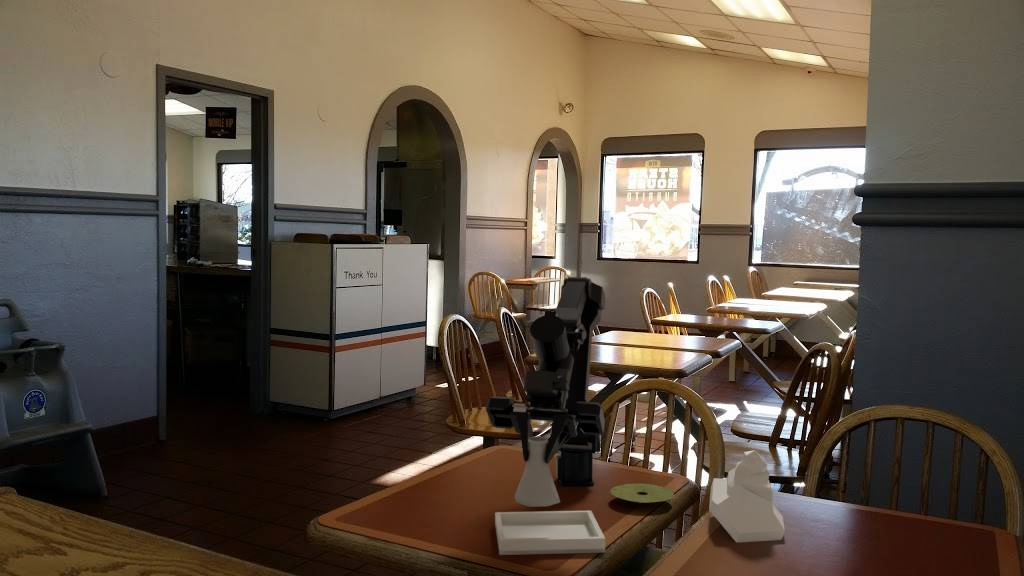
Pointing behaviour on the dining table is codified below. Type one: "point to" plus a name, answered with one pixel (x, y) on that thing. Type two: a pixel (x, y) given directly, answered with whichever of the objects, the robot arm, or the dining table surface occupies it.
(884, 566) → the dining table surface
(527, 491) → the flask
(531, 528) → the tray
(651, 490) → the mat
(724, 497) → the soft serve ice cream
